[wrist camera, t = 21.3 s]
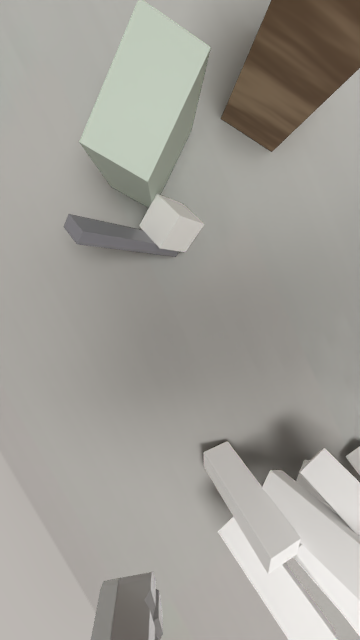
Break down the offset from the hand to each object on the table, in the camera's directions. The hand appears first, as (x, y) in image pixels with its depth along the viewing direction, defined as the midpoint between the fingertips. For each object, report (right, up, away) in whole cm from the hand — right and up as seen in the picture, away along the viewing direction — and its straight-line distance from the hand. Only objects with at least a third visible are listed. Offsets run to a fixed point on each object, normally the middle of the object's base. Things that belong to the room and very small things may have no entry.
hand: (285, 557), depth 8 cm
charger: (-10, +17, +28) cm, 34 cm away
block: (-8, +31, +32) cm, 46 cm away
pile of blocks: (+20, -24, +47) cm, 56 cm away
